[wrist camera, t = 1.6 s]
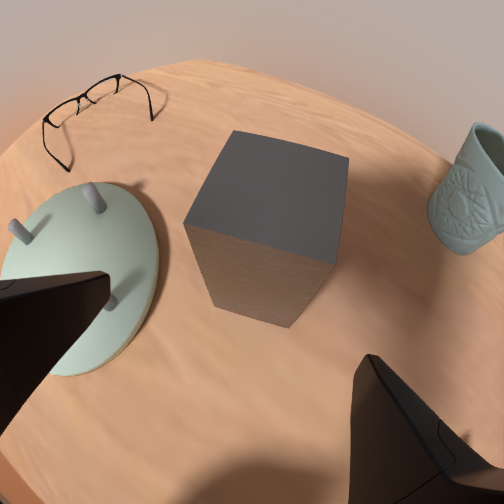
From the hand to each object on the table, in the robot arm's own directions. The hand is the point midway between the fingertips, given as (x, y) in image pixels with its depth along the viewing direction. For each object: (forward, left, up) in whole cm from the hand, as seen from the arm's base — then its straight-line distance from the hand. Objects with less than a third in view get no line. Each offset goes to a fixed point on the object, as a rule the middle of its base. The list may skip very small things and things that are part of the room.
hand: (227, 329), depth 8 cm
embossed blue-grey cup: (+19, -20, -13) cm, 31 cm away
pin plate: (+1, +18, -12) cm, 22 cm away
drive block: (+6, 0, -12) cm, 14 cm away
